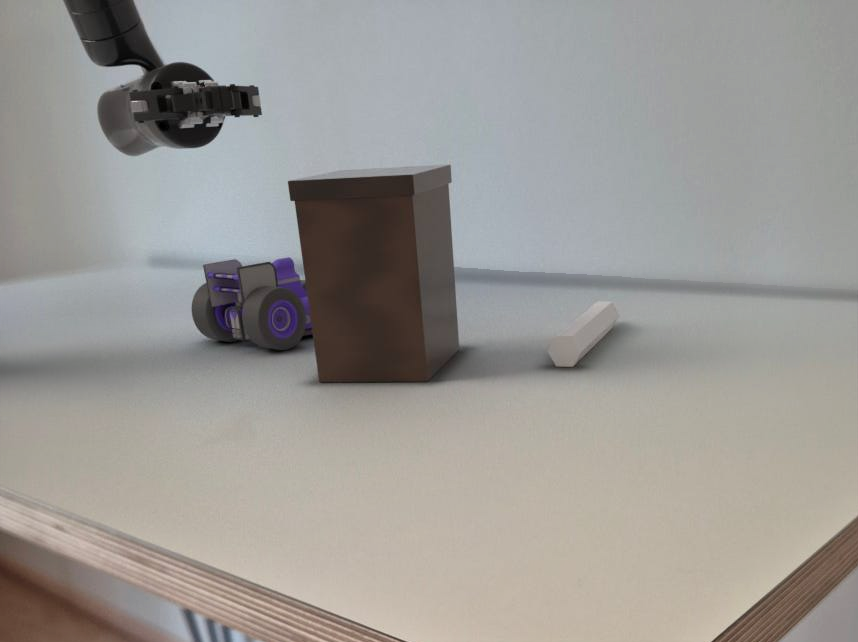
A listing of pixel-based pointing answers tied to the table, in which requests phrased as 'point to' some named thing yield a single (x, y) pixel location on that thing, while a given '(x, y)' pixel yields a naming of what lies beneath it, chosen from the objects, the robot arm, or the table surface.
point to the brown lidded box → (378, 271)
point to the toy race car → (253, 303)
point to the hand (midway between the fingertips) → (221, 99)
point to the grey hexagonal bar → (583, 334)
